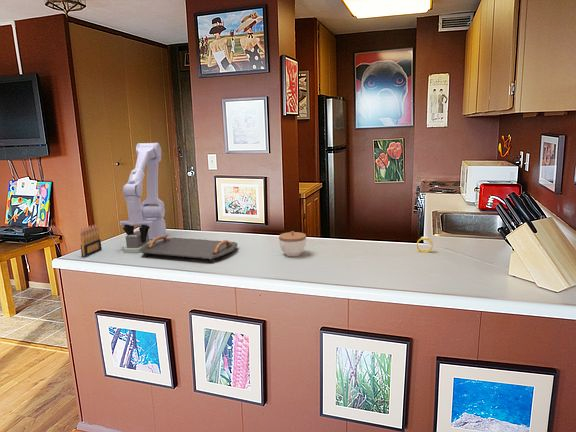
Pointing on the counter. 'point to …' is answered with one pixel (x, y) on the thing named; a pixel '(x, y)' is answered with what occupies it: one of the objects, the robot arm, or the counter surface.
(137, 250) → the pin header
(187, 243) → the serving board
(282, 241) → the lidded jar
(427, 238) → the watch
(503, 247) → the counter surface
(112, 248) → the counter surface
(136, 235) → the block
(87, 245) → the ammunition clip
